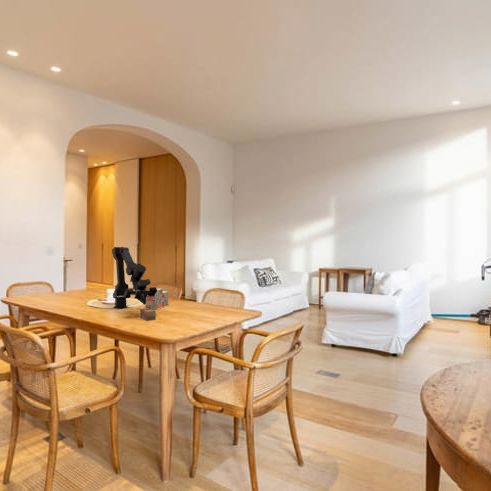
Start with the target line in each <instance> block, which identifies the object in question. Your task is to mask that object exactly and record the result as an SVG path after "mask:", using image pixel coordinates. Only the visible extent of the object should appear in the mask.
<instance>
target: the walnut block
mask: <svg viewBox="0 0 491 491" xmlns="http://www.w3.org/2000/svg"><path fill="white" fill-rule="evenodd" d="M156 312H157V311H156V310H152V309H149V308H146V307H145V308H139V319H141V320H145V321H148V322H149V321H156V319H157V318H156V314H157V313H156Z"/></svg>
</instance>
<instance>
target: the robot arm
mask: <svg viewBox="0 0 491 491" xmlns="http://www.w3.org/2000/svg"><path fill="white" fill-rule="evenodd" d="M111 254H112V257H113V259H114V260H115V264H116V280H117V283H116V285H115V286H114V290H113V292H112V298H113V299H114V306H113V308H115V309H124V308H128V305H127V299H130V298H131V297H132V296H133V295H134V297H133V298H134V299H136V300H137V301H139V302H140V303H141V304H143V305H145V306H146V297H147V295H148V296H155V294H156V292H157V286H149V285H151V280H150V278H146V279H142V278H143V277H144V275H145V272H146V271H147V267H145V265H142V263H136V262H134V259H133V257H132V255H131V252H130V249H129V247H125V246H114V247H113V248H112V249H111ZM125 267H126V268H125ZM125 273H126V274H127V276H130V278H129V282H130V283H132V288H129V284H127V282H126V276H125ZM147 286H149V288H148V289H147Z"/></svg>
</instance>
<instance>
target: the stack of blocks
mask: <svg viewBox="0 0 491 491" xmlns="http://www.w3.org/2000/svg"><path fill="white" fill-rule="evenodd" d="M156 288H157V287H156ZM163 289H164V288H159V287H158V288H157V292H156V294H155V296H148V295H147V297H146V304H145V308H149V309H152V310H155V311H156V310H158V309H160V308H163V307H165V306H167V305H169V291H168V290H163Z"/></svg>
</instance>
